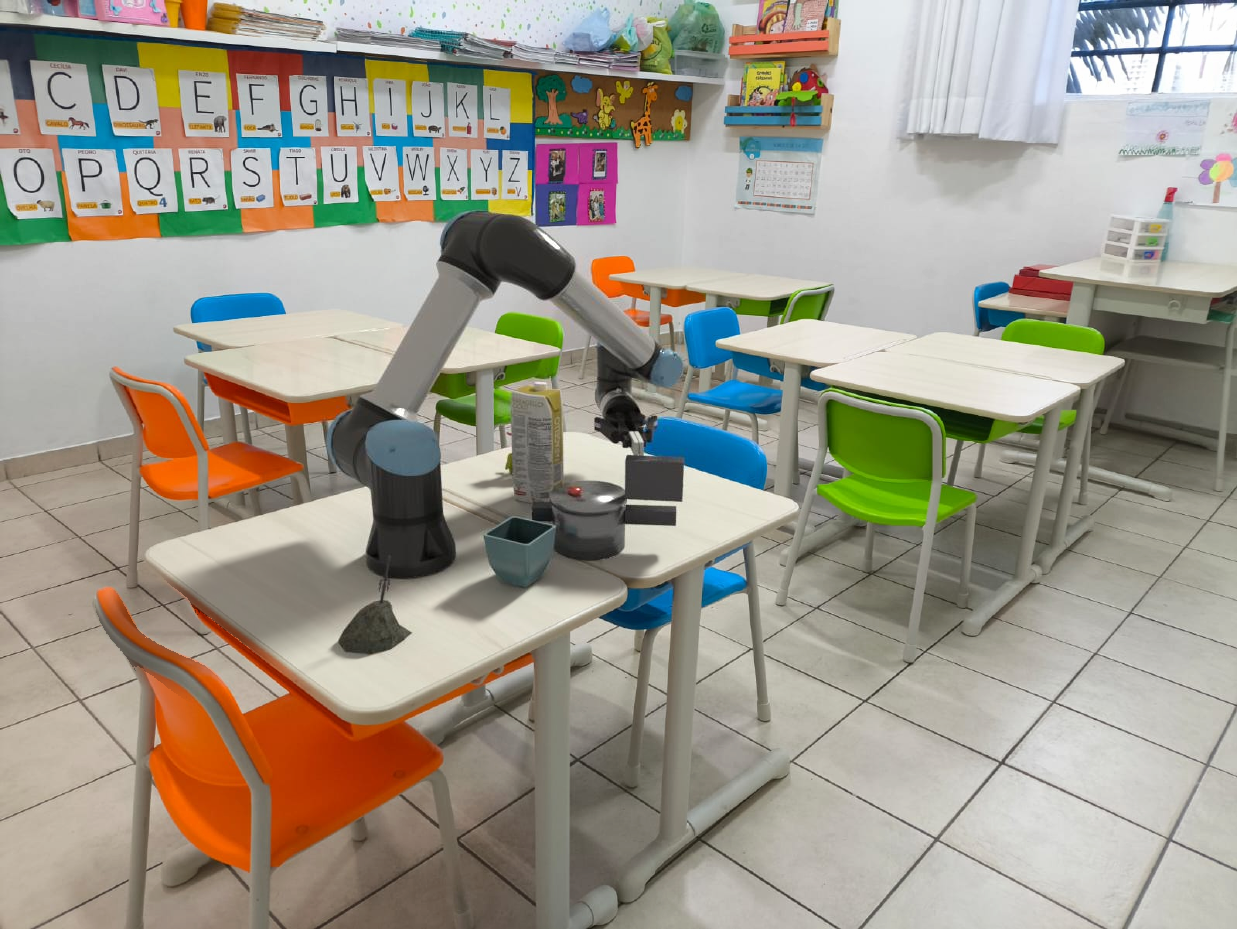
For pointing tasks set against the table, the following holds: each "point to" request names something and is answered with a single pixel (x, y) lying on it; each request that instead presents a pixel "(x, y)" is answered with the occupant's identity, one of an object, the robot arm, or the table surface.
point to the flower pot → (520, 549)
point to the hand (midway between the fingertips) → (639, 449)
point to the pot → (598, 528)
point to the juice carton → (536, 442)
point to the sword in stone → (374, 627)
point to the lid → (642, 482)
